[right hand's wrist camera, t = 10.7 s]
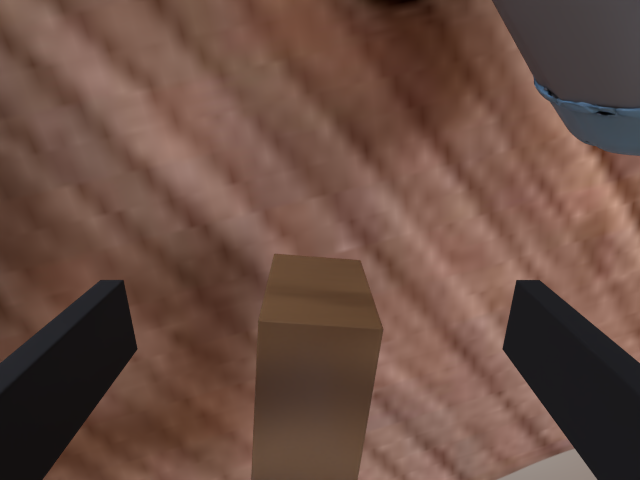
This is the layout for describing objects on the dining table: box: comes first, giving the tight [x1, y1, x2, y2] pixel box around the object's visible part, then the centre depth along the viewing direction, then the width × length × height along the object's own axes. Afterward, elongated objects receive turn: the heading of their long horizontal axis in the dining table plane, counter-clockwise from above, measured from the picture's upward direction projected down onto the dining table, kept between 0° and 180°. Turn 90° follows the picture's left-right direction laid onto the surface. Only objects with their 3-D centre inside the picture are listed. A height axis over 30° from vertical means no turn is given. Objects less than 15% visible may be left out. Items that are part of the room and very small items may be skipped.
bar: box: [251, 254, 383, 480], centre depth 24 cm, size 23×6×8 cm, turn 175°
